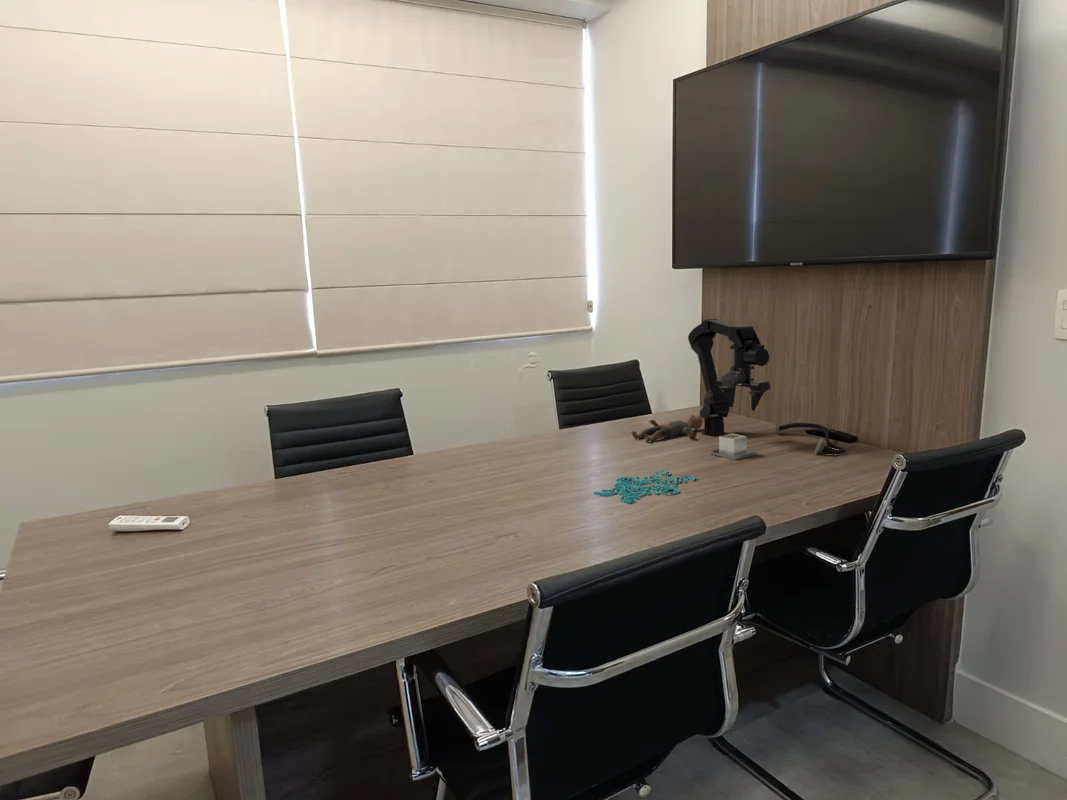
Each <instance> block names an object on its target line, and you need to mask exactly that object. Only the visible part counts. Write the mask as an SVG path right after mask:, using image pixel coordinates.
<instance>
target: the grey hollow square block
mask: <svg viewBox="0 0 1067 800" xmlns="http://www.w3.org/2000/svg"><path fill="white" fill-rule="evenodd" d="M747 437H748V436H746V435H741V434H736V433H728V434H727V433H726V434H722V435H718V438H719V441H718V442H719V443H718V447H719V448H718V449H719V451H720V452H724V453H728V454H733V455H735V454H739V453H743V452H747V450H748V448H747V446H748V445H747V443H748V438H747Z"/></svg>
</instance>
